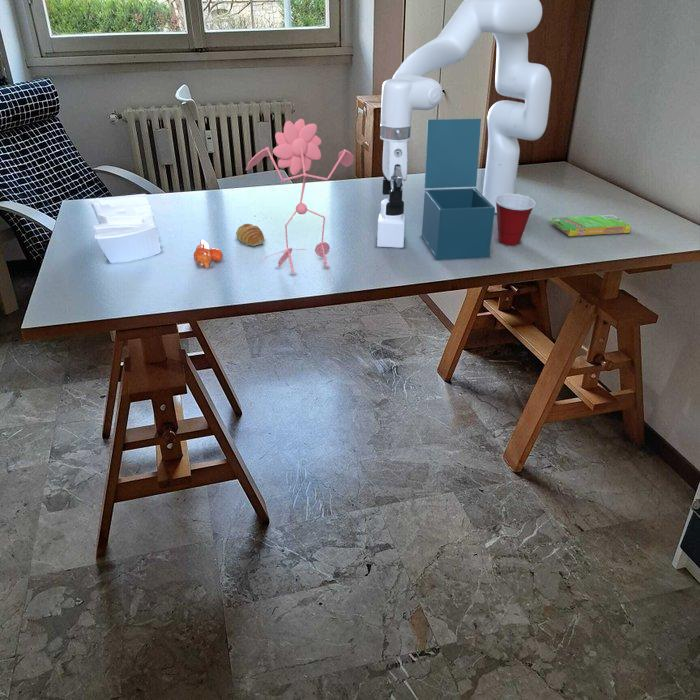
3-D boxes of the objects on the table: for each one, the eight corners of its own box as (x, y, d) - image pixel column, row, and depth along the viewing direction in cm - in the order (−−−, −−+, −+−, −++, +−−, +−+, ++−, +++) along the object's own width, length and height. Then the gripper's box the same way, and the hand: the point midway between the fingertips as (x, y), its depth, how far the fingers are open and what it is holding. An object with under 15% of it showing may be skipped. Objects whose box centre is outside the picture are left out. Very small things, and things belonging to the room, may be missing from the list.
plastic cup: (506, 252, 175) (512, 208, 169) (481, 238, 183) (486, 196, 177) (538, 245, 179) (545, 202, 173) (512, 232, 188) (518, 191, 182)
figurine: (358, 263, 168) (361, 120, 150) (263, 282, 157) (253, 130, 140) (331, 243, 180) (331, 108, 162) (241, 259, 169) (230, 117, 151)
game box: (628, 235, 188) (562, 236, 184) (611, 224, 197) (547, 225, 193) (631, 225, 187) (564, 226, 183) (613, 214, 195) (549, 214, 191)
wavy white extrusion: (163, 264, 166) (157, 224, 160) (94, 272, 161) (85, 231, 156) (155, 219, 194) (150, 184, 189) (96, 225, 190) (89, 188, 185)
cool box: (489, 257, 172) (495, 207, 165) (436, 259, 170) (440, 209, 164) (470, 234, 186) (475, 188, 179) (421, 236, 184) (424, 189, 178)
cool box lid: (481, 118, 172) (474, 116, 177) (428, 119, 170) (423, 117, 175) (476, 186, 179) (470, 182, 184) (425, 188, 177) (420, 184, 182)
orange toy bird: (193, 233, 169) (196, 250, 159) (222, 239, 172) (227, 257, 162) (189, 251, 171) (192, 269, 161) (217, 257, 174) (222, 275, 164)
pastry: (270, 244, 178) (269, 231, 176) (247, 249, 175) (246, 235, 173) (256, 233, 185) (255, 220, 183) (233, 238, 182) (232, 225, 180)
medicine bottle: (404, 238, 183) (406, 196, 177) (403, 248, 177) (405, 204, 171) (378, 237, 183) (379, 195, 177) (376, 247, 177) (378, 203, 171)
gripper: (417, 140, 158) (412, 209, 167) (403, 125, 173) (399, 190, 182) (386, 140, 157) (383, 210, 166) (374, 125, 172) (372, 190, 181)
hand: (391, 199), depth 174 cm, fingers open, 9 cm apart
